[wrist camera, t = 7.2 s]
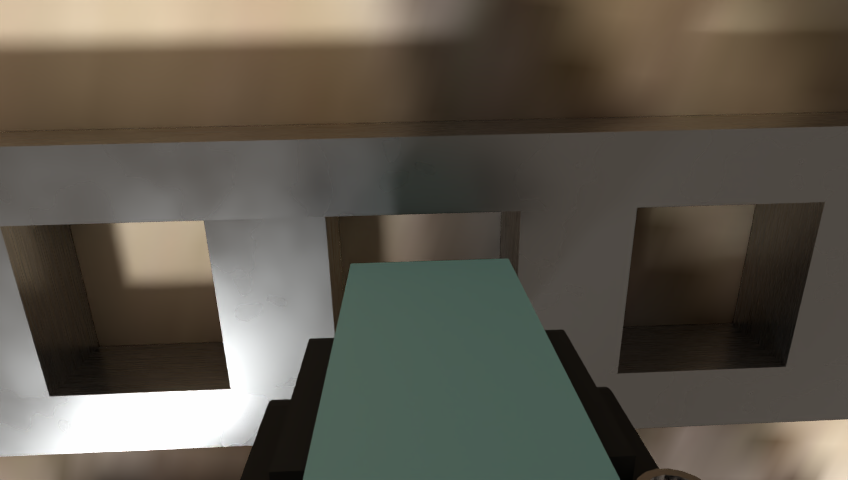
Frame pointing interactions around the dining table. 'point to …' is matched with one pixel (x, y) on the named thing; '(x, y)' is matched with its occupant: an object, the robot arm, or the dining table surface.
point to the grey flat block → (419, 194)
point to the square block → (447, 382)
